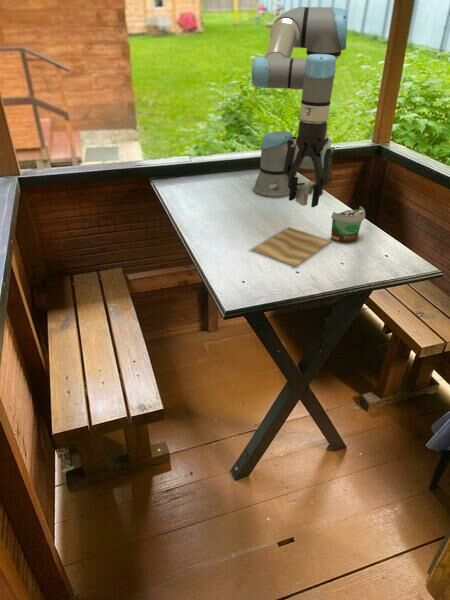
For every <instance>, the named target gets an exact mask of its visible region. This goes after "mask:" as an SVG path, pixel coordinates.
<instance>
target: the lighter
mask: <svg viewBox="0 0 450 600" xmlns="http://www.w3.org/2000/svg"><path fill="white" fill-rule="evenodd" d="M315 184H316V182H315V180H309V181H308V182H307V184H306V185H305V184H304V185H299V186H297V191H296V198H295V202H296V203H297V204H299V205H300V206H307V205H308V200H309V196H310V195H312V194H313V190H314V185H315Z"/></svg>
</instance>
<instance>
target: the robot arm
mask: <svg viewBox="0 0 450 600" xmlns="http://www.w3.org/2000/svg"><path fill="white" fill-rule="evenodd" d="M347 38H348V11H347V10H346V9H345V8H342V7H334V6H329V7H328V6H299V7H298V6H297V7H295V8H294V7H293V8H291V9H289V10H287V11H285V12H283V13H282V14H280V15H279V16H278V17H277V18H276V19H275V20H274V21H273V24H272V25H271V28H270V31H269V43H268V45H267V48H266V51H265V53H264V56H256V57H254V59H253V60H252V64H251V65H252V66H251V84H252V86H253V87H256V88H263V89H285V90H286V89H287V90H302V94H301V102H300V110H299V119H300V120H299V121H298V128H297V136H294V135H293V133H292V132H291V131H287V130H278V131H272V132H268V133H265V135H263V136H262V138H261V139H262V140H261V146H260V150H261V151H260V162H259V163H260V166H259V172H258V176H257V177H256V180H255V183H254V189H253V190H254V192H255V193H256V194H258V195H260V196H264V197H269V198H282V197H286V196H288V201H290V202H292V201H294V200H296V192H297V187H298V186H300V185H304V186H305V182H298V181H299V177H298V176H297V175H298V172H299V170H300V169H303V170H312V171H314V175H315V181H316V182H315V185H314V189H313V191H312V196H311V197H312V198H311V204H310V207H311V208H315V207H317V206H318V205H319V200H320V197H321V196H322V195H323V194H324V193H323V191H324V186H327V185H329V184H330V183H331V182H332V169H333V167H332V166H333V156H334V153H335V149H336V148H335V146H332V139H330V138H329V133H328V132H327V131H328V130H327V129H328V122H327V121H328V120H329V116H330V108H331V100H332V93H333V87H334V81H335V75H336V71H337V68H336V66H337V65H336V64H337V60H338V59H339V58H340V57H341V55H342V51H344V50H346V49H347V40H348V39H347ZM294 48H299V49H300V48H301V49H306V51H305V52H306V53H305V54H306V56H307V57H306V58H296V57H295V58H294V57H293V58H292V55H293V50H294Z"/></svg>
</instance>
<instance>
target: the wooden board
mask: <svg viewBox="0 0 450 600" xmlns="http://www.w3.org/2000/svg"><path fill="white" fill-rule="evenodd" d="M330 243H331V241H330V240H328V239H325V238H322V237H320V236H319V237H318V236H315V235H313V234H310V233H307V232H304V231H300V230H297V229H295V228H291V227H288V228H286V229H284V230H282V231H280V232H279V233H277V234H276V235H274V236H273V237H271V238H269V239H268V240H266V241H264V242H262V243H261V244H259V245H258V246H256V247H254V248H252V249H251V251H252V252H255V253H258V254H260V255H263V256H265V257H269V258H271V259H273V260H275V261H279V262H282V263H284V264H286V265H289V266H292V267H294V268H295V267H297V266H298V265H300V264H301V263H303V262H304V261H305V260H307V259H308V258H310V257H311V256H313V255H314V254H315V253H316V252H318V251H319V250H321V249H322V248H323V247H325V246H327V245H328V244H330Z"/></svg>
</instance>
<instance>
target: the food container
mask: <svg viewBox="0 0 450 600" xmlns="http://www.w3.org/2000/svg"><path fill="white" fill-rule="evenodd" d="M365 218H366V211H365V209H364V207H363V206H359V208H357V209H351V210H344V211H342V212H339V213H337V212H335V211H333V212H332V213H331V217H330V219H332V220H331V221H332V223H331V231H330V232H331V233H330V240H331V241H334V242H335V243H339V244H353V243H355V242H356V241H357V238H358V235H359V231H360V228H361V225H362V222H363V221H364V220H365Z"/></svg>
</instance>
